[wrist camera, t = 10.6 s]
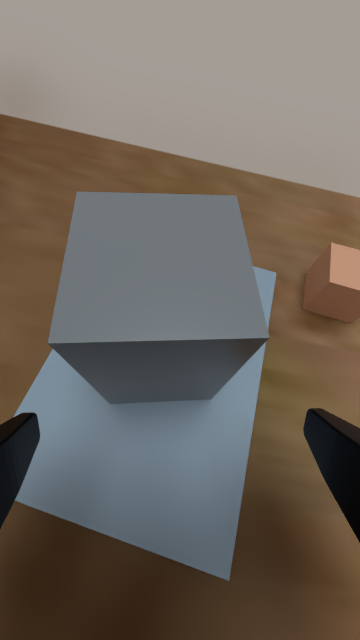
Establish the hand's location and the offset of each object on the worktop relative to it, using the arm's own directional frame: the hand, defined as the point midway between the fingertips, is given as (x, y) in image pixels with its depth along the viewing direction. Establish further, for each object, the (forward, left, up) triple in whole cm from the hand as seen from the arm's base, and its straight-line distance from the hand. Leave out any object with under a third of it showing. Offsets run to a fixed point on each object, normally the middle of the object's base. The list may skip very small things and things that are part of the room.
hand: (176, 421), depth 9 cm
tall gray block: (+5, +2, -8) cm, 9 cm away
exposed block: (+15, -10, -9) cm, 20 cm away
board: (+5, +2, -9) cm, 10 cm away
